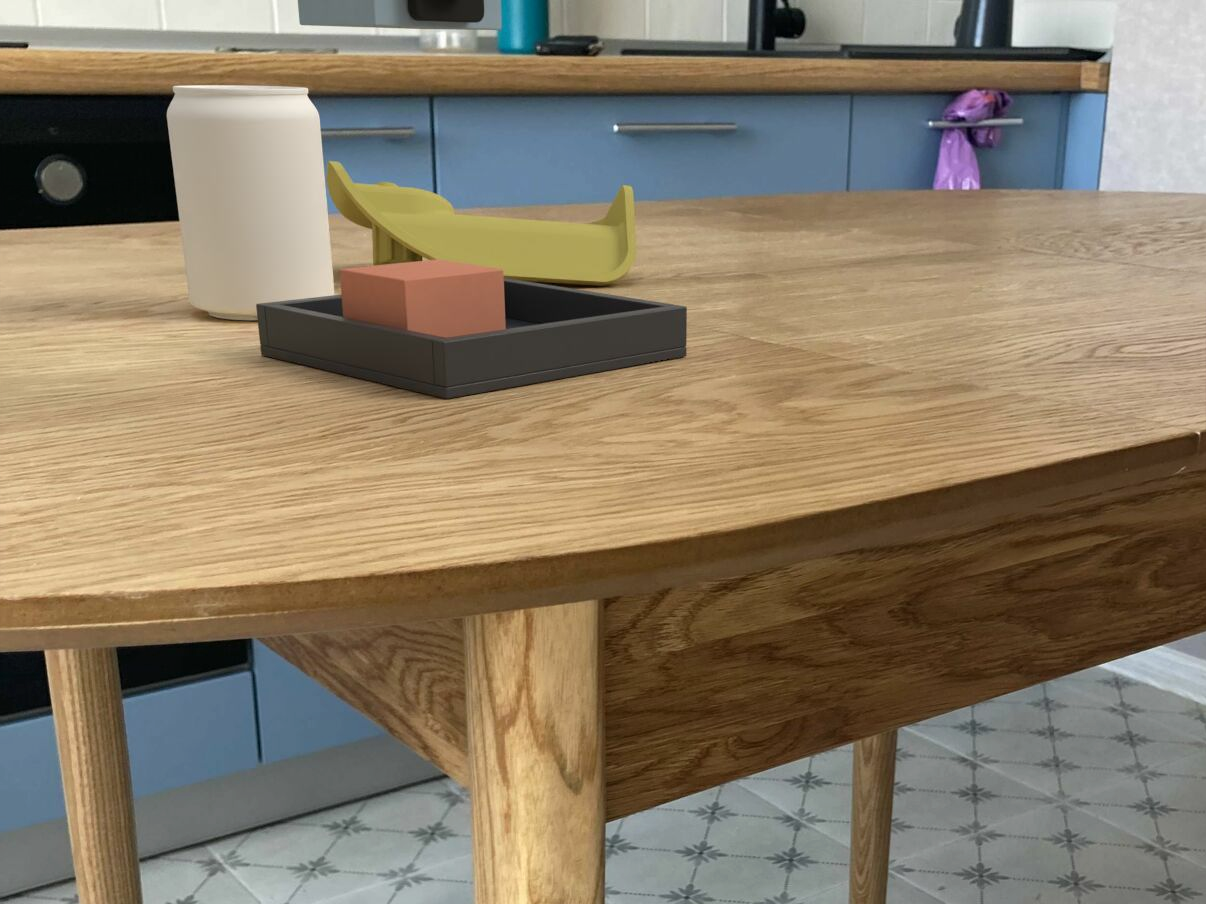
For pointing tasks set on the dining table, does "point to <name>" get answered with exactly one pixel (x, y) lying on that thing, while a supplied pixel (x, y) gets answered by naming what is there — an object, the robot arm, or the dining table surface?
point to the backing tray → (480, 341)
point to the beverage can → (250, 196)
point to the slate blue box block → (385, 15)
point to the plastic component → (487, 234)
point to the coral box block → (426, 297)
